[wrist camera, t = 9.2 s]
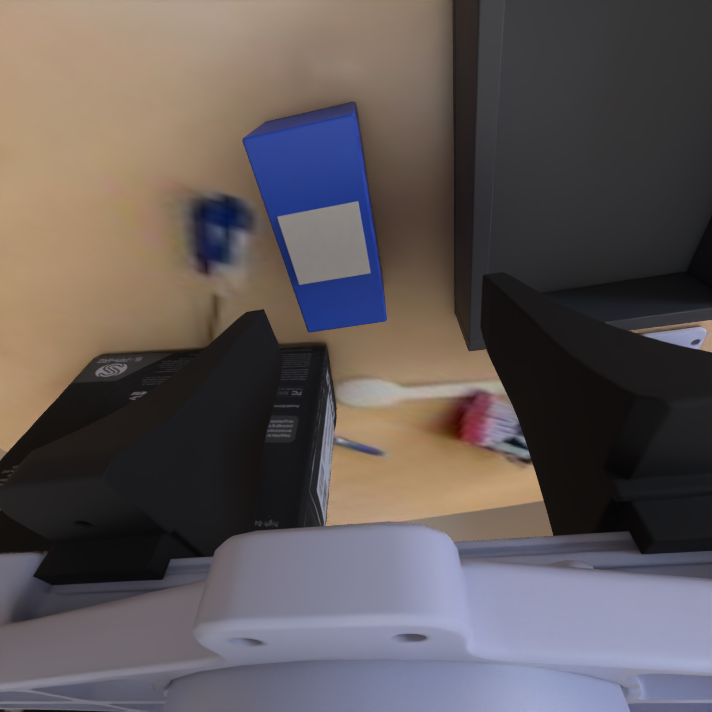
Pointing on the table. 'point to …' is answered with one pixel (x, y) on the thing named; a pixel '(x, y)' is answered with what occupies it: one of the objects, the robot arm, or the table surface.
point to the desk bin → (584, 156)
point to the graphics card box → (280, 454)
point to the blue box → (321, 214)
